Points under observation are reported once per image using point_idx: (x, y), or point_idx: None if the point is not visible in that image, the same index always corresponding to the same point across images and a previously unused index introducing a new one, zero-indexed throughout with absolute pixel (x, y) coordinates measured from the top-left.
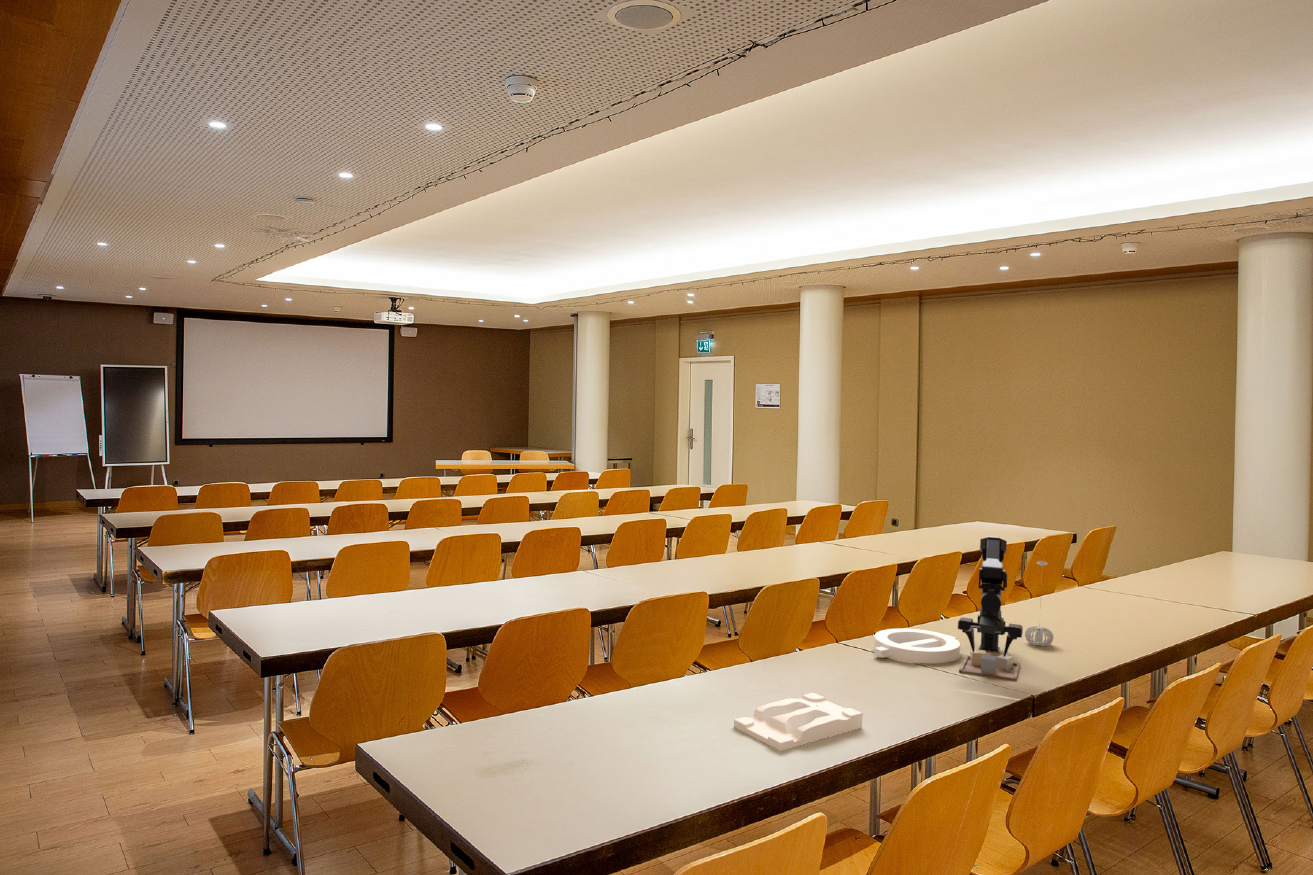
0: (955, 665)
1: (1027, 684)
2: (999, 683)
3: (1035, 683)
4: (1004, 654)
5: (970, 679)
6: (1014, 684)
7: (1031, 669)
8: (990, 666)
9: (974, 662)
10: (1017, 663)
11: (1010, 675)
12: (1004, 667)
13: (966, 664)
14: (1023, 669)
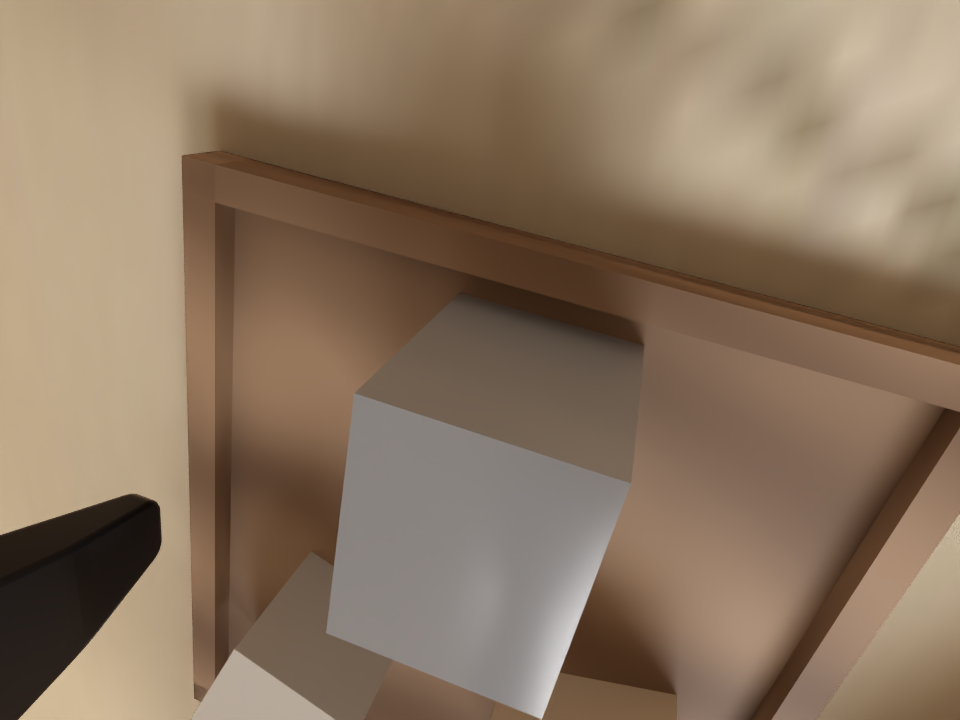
0: (902, 701)
1: (100, 130)
2: (418, 30)
3: (39, 204)
4: (111, 516)
5: (888, 86)
6: (230, 65)
7: (133, 617)
8: (476, 359)
9: (643, 716)
10: None
11: (272, 381)
12: (319, 582)
13: (747, 703)
14: (187, 613)
